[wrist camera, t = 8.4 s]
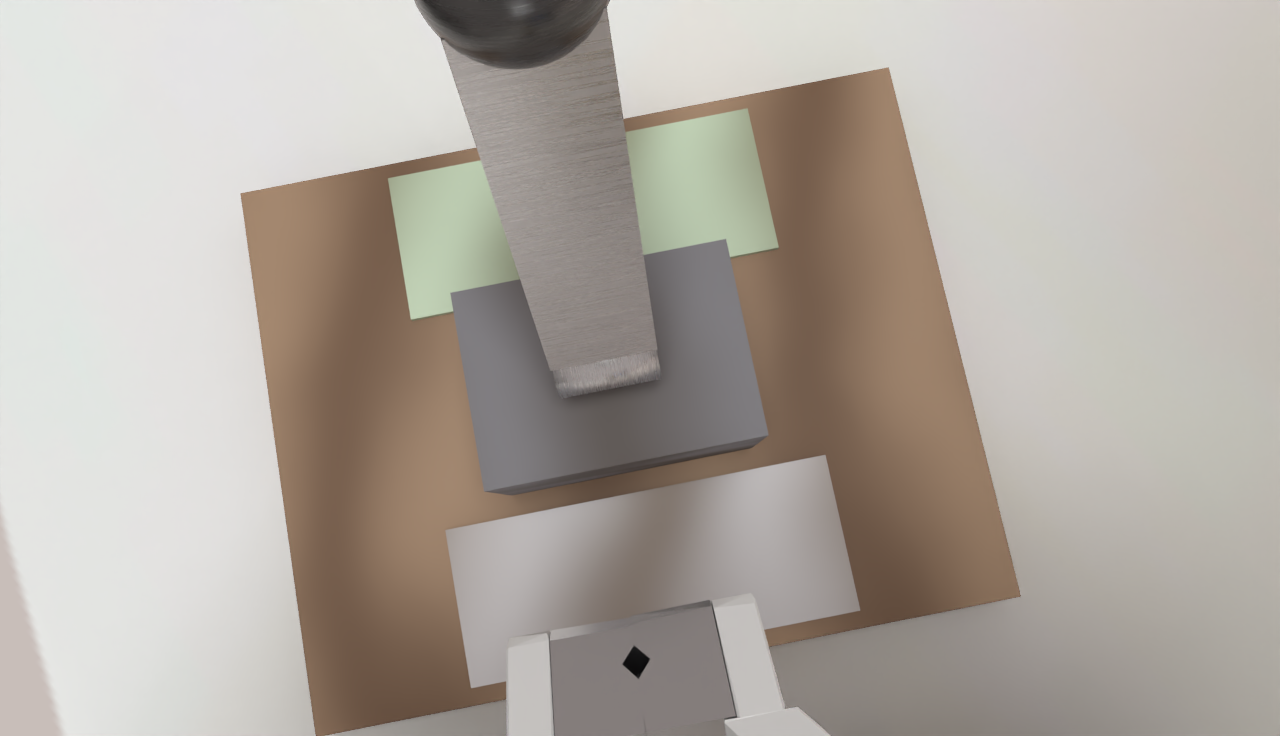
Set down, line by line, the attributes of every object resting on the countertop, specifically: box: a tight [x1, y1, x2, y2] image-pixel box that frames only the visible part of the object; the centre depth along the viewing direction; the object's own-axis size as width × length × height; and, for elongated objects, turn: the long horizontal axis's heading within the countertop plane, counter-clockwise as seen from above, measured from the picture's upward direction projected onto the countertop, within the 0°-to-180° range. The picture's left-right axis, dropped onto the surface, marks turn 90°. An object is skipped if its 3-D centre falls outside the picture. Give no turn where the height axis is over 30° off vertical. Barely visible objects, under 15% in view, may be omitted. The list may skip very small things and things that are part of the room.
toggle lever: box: [414, 0, 662, 399], centre depth 18 cm, size 3×3×13 cm
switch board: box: [241, 68, 1021, 736], centre depth 27 cm, size 20×16×6 cm
